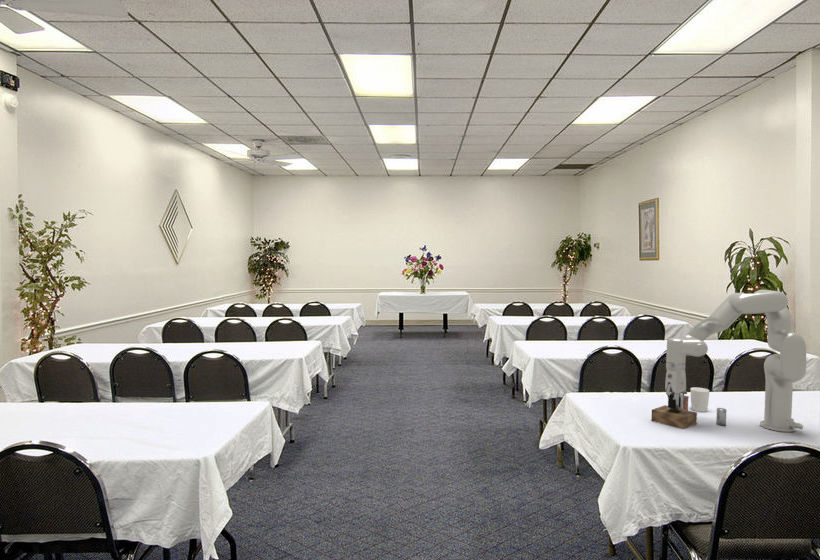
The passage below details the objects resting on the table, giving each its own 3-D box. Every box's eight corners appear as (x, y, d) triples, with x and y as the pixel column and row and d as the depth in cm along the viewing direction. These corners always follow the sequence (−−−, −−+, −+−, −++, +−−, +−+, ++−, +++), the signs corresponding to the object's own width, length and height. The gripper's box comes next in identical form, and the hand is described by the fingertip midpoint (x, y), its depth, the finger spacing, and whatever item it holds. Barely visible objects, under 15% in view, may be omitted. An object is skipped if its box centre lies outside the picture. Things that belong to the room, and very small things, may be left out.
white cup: (707, 413, 243) (708, 392, 242) (688, 410, 247) (689, 389, 247) (709, 409, 249) (710, 389, 248) (691, 406, 254) (692, 386, 253)
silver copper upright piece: (669, 410, 246) (669, 390, 246) (669, 409, 249) (669, 388, 249) (688, 413, 243) (689, 392, 242) (688, 411, 246) (688, 390, 245)
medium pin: (684, 416, 237) (684, 395, 237) (680, 418, 235) (681, 396, 234) (676, 414, 240) (676, 393, 240) (672, 416, 238) (673, 394, 237)
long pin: (679, 416, 228) (680, 385, 228) (675, 417, 226) (677, 386, 225) (671, 414, 231) (672, 383, 231) (667, 415, 229) (668, 384, 228)
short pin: (727, 425, 225) (727, 409, 225) (724, 426, 223) (724, 410, 223) (718, 423, 228) (718, 407, 228) (715, 424, 226) (715, 408, 226)
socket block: (696, 423, 227) (696, 412, 227) (683, 429, 219) (684, 417, 219) (664, 416, 238) (665, 405, 238) (651, 420, 231) (651, 409, 230)
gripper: (675, 369, 220) (673, 412, 220) (693, 365, 230) (691, 406, 230) (657, 366, 226) (656, 408, 226) (676, 362, 236) (674, 402, 236)
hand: (674, 406), depth 228 cm, fingers closed on long pin, 3 cm apart
